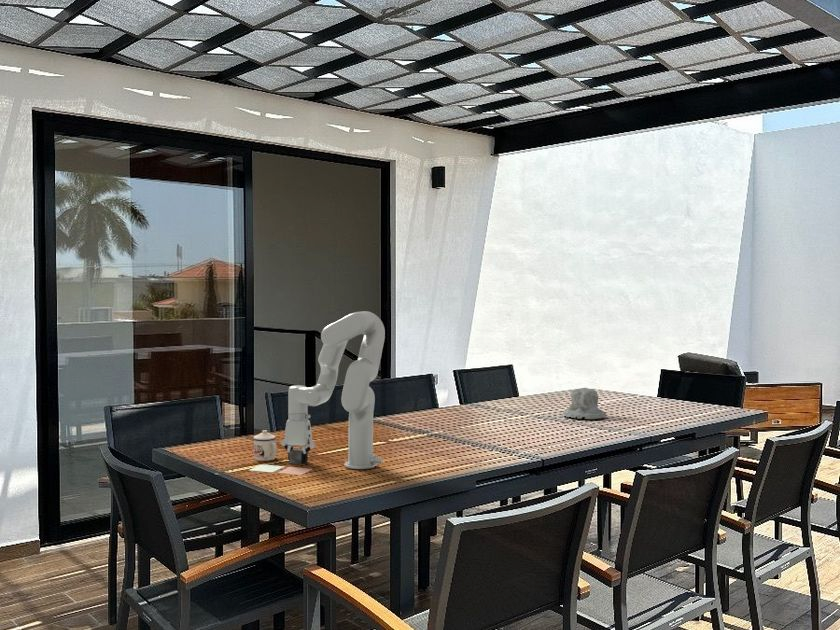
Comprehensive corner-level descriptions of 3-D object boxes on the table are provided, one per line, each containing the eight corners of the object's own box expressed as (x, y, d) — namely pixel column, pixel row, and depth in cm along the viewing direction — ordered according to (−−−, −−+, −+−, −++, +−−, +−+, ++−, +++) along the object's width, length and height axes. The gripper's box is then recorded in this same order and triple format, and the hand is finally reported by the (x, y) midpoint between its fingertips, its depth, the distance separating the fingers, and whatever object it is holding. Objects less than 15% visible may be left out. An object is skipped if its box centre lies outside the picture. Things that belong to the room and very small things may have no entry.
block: (306, 462, 318) (306, 450, 318) (300, 465, 313) (300, 452, 313) (295, 461, 319) (295, 449, 319) (289, 464, 315) (289, 451, 314)
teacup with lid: (248, 459, 323) (248, 430, 322) (266, 455, 330) (266, 427, 329) (267, 463, 315) (267, 434, 314) (285, 459, 322) (285, 431, 321)
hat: (616, 418, 427) (616, 390, 427) (583, 421, 416) (583, 393, 415) (584, 411, 450) (584, 384, 449) (551, 414, 439) (552, 387, 438)
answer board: (313, 470, 304) (313, 469, 304) (301, 476, 295) (301, 474, 295) (261, 465, 311) (261, 464, 311) (248, 471, 302) (248, 470, 302)
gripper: (321, 416, 316) (321, 462, 317) (283, 414, 322) (283, 458, 323) (313, 419, 309) (313, 466, 310) (274, 417, 315) (274, 462, 315)
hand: (297, 462), depth 316 cm, fingers closed on block, 5 cm apart
